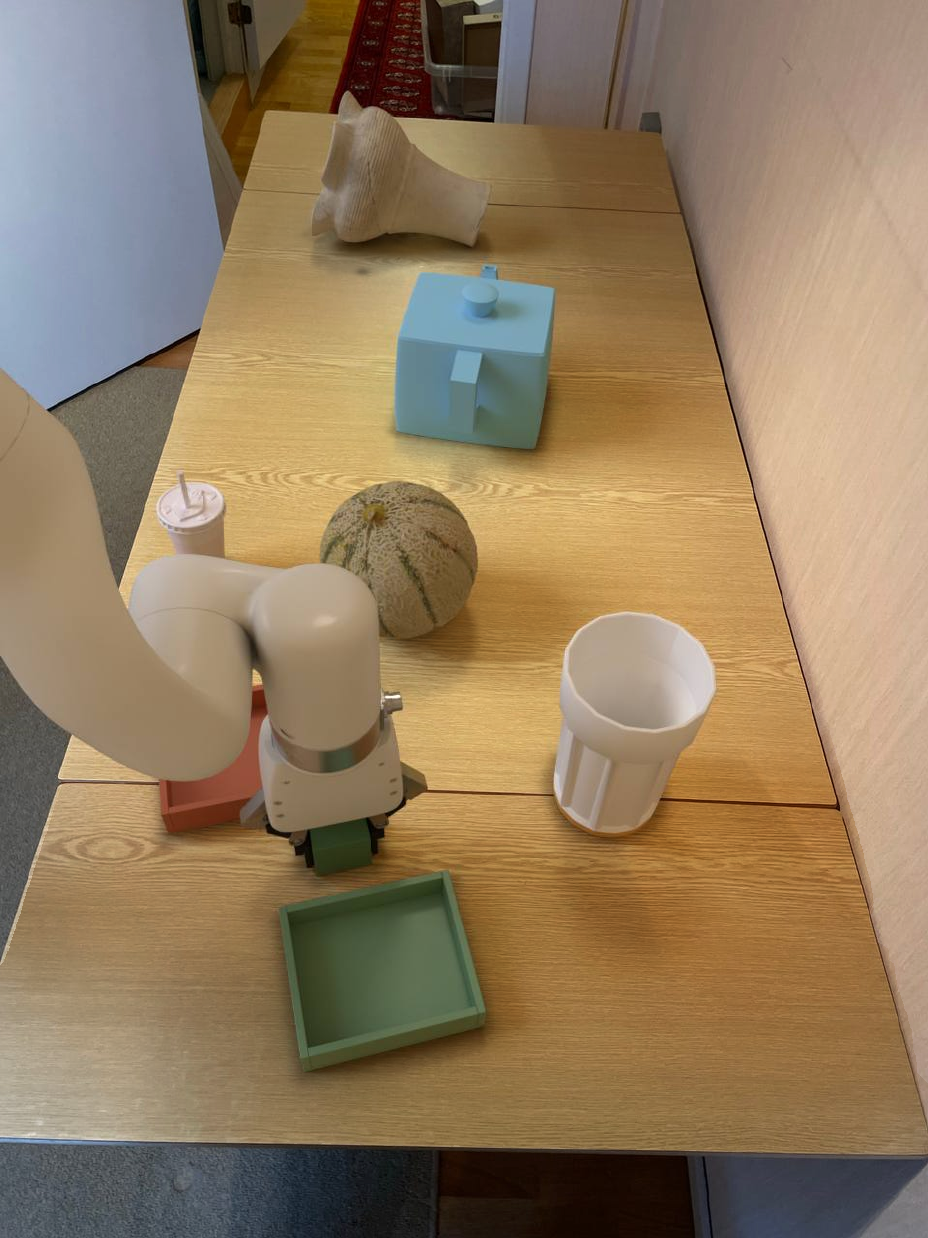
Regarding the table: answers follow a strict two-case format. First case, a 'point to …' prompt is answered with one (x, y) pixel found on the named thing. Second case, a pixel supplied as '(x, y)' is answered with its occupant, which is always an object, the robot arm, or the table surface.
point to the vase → (391, 184)
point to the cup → (627, 718)
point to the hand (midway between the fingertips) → (339, 844)
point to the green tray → (379, 969)
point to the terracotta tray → (217, 784)
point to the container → (474, 359)
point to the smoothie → (194, 517)
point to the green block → (341, 846)
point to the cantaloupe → (405, 554)
